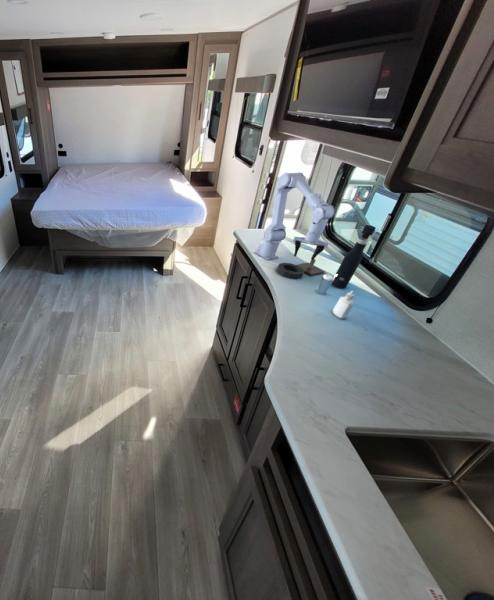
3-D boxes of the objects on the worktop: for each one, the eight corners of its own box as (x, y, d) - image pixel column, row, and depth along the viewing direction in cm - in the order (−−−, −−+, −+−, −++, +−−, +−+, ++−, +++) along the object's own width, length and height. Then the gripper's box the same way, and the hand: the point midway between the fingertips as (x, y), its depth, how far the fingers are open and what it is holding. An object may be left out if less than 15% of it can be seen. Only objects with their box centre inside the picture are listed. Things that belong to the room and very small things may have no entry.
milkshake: (330, 295, 141) (340, 276, 136) (318, 294, 141) (328, 276, 136) (324, 290, 145) (334, 271, 139) (313, 289, 145) (322, 271, 139)
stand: (294, 267, 163) (298, 256, 160) (307, 264, 166) (312, 254, 163) (310, 276, 156) (315, 265, 152) (323, 273, 159) (329, 262, 155)
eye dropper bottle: (333, 317, 128) (347, 293, 121) (331, 309, 132) (345, 286, 125) (345, 320, 126) (360, 296, 119) (343, 312, 130) (357, 289, 124)
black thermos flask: (341, 282, 152) (373, 224, 135) (348, 289, 147) (382, 230, 129) (328, 281, 152) (358, 223, 135) (334, 288, 147) (367, 228, 130)
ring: (271, 269, 160) (273, 264, 158) (288, 266, 164) (290, 261, 162) (289, 280, 151) (292, 275, 150) (307, 276, 155) (309, 272, 153)
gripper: (298, 231, 142) (287, 257, 150) (333, 237, 138) (320, 264, 145) (297, 226, 148) (287, 251, 155) (331, 232, 143) (319, 258, 151)
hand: (303, 257), depth 151 cm, fingers open, 7 cm apart
